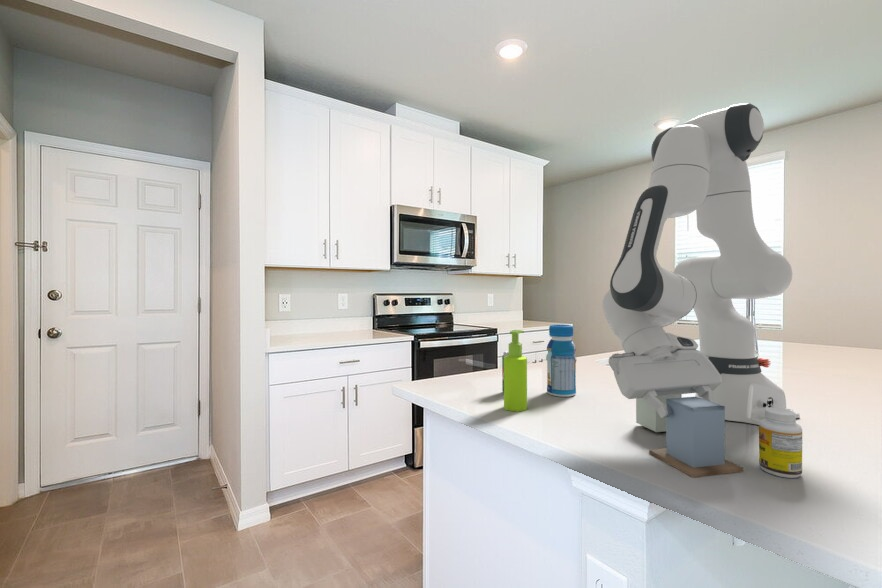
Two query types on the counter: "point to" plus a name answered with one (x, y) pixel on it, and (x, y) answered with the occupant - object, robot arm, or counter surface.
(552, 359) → the beverage bottle
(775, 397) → the robot arm
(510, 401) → the soap dispenser
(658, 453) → the post
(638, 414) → the pale green block
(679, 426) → the pale blue tall block
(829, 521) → the counter surface
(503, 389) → the soda can
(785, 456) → the supplement bottle
